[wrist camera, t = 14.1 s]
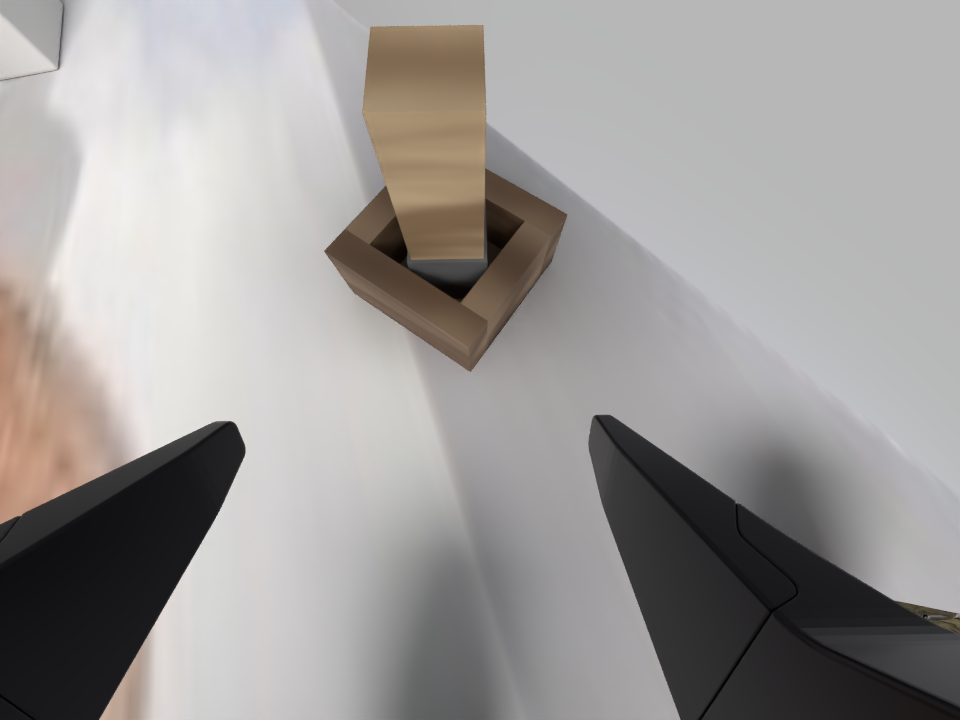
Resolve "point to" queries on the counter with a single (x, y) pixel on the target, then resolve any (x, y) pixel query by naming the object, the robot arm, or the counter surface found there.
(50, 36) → the tall white carton
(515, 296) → the post slot block
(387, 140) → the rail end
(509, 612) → the counter surface
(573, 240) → the counter surface
